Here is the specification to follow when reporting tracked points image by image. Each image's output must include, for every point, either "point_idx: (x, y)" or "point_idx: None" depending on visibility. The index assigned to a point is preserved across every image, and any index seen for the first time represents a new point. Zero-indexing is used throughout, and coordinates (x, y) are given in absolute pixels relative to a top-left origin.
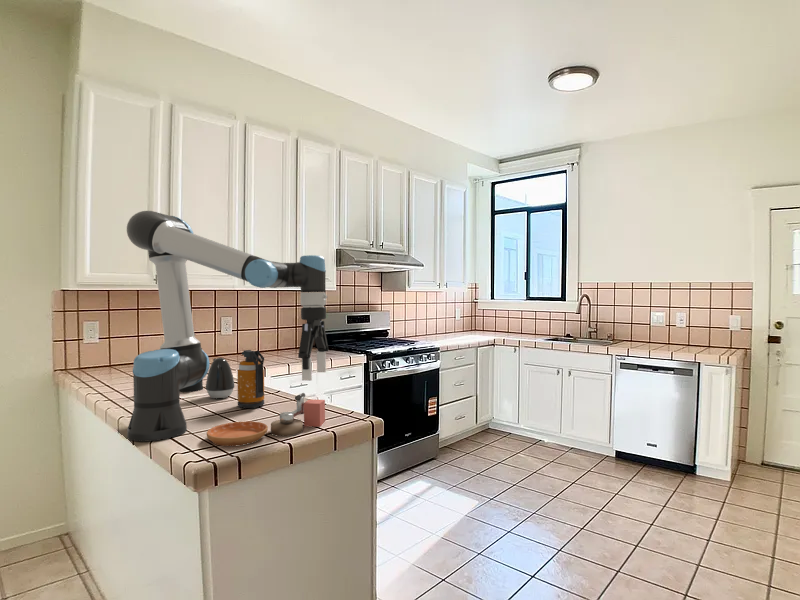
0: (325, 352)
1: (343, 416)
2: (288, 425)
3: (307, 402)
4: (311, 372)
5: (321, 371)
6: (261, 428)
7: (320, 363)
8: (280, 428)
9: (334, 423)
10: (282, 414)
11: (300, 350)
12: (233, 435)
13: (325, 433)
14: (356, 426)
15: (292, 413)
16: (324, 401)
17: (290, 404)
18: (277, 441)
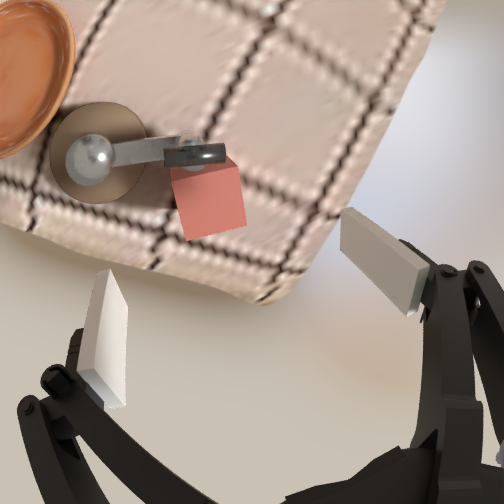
0: (411, 310)
1: (296, 215)
2: None
3: (185, 189)
4: (123, 336)
5: (342, 234)
6: (55, 95)
7: (367, 251)
8: (52, 169)
9: None
10: (74, 155)
11: (28, 440)
12: (4, 65)
13: (133, 254)
14: (218, 287)
15: (99, 178)
16: (240, 224)
17: (378, 17)
18: (29, 186)
